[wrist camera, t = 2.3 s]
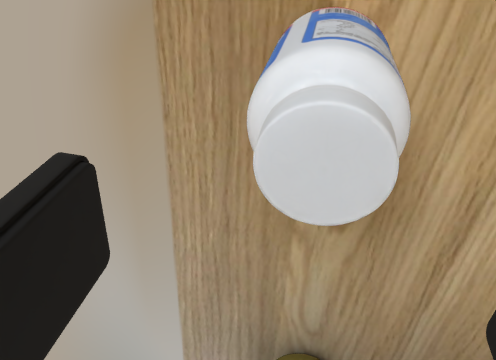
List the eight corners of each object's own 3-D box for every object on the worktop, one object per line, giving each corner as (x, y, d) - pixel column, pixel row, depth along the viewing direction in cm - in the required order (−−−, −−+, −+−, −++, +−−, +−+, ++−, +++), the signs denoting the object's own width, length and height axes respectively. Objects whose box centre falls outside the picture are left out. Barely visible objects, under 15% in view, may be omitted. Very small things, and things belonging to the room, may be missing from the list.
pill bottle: (309, 135, 21) (285, 266, 13) (253, 46, 20) (186, 137, 12) (412, 84, 19) (458, 208, 11) (358, -23, 17) (367, 32, 9)
